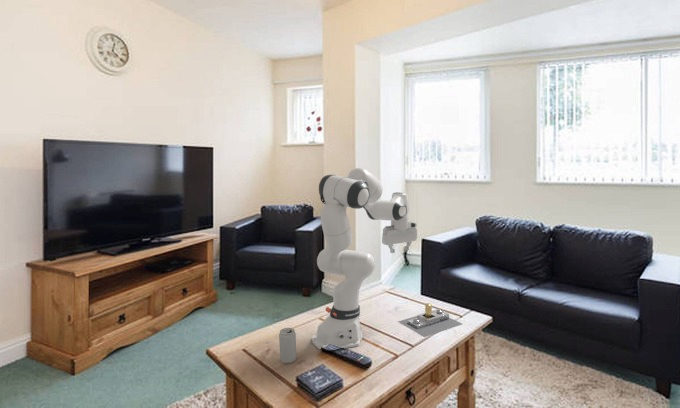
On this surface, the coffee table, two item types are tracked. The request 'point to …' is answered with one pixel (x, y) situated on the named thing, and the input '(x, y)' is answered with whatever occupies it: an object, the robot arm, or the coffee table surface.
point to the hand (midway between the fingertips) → (399, 251)
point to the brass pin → (428, 310)
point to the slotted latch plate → (423, 321)
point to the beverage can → (287, 345)
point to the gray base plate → (431, 326)
